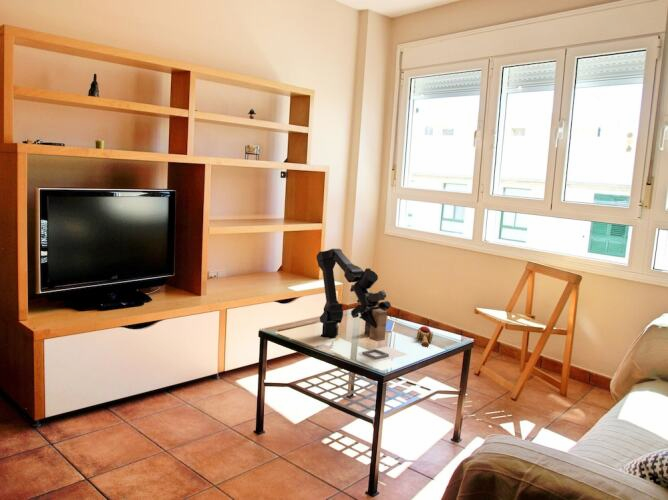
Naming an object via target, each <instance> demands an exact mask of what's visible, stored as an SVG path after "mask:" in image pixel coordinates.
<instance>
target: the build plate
mask: <svg viewBox="0 0 668 500" xmlns="http://www.w3.org/2000/svg"><path fill="white" fill-rule="evenodd" d="M355 354H357V355H359V356H361V357H364V358H367V359H369V360H370V361H373V362H375V363H379V362H382V361H386V360H390V359H394V358H399V357H402V356H408V353H407V352H404V351H401V350H398V349H396V348H392V347H390V346H383V347H379V348H375V349H370V350H369V349H368V350H365V351H361V352H357V353H355Z"/></svg>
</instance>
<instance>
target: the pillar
mask: <svg viewBox="0 0 668 500" xmlns="http://www.w3.org/2000/svg"><path fill="white" fill-rule="evenodd" d="M372 316H373V318H374V320H375V322H376V324H377V328H374V327H373V326H372V325H370V335H369V337H368V338H369V340H372V341H374V342H381V341H386V332H385V331H386V321H388V320H387V319H388V318H387V317H388V310H386V311H384V310H381V309H376V310H372Z"/></svg>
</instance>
